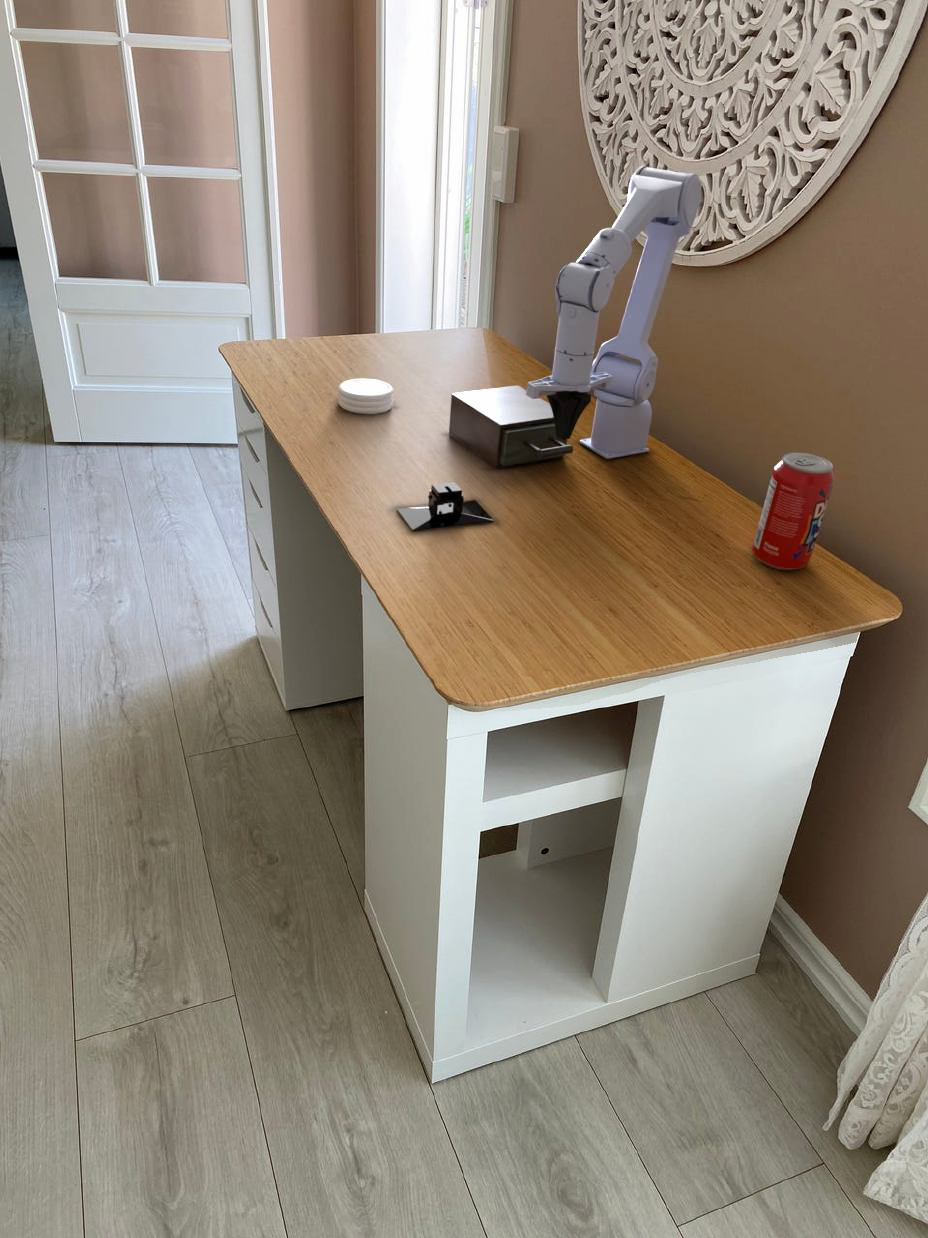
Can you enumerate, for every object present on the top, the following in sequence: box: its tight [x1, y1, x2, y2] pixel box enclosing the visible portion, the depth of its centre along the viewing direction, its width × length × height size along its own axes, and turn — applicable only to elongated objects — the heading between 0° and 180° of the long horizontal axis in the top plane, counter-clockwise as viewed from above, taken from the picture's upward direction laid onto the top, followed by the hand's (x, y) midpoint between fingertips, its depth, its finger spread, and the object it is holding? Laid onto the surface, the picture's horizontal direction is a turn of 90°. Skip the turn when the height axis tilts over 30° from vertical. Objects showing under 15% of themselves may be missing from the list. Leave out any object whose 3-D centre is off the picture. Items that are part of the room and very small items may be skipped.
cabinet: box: [448, 384, 564, 469], centre depth 159 cm, size 15×13×7 cm
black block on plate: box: [396, 481, 494, 533], centre depth 135 cm, size 12×7×5 cm, turn 112°
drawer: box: [500, 421, 574, 466], centre depth 155 cm, size 20×12×6 cm, turn 31°
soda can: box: [752, 451, 835, 571], centre depth 128 cm, size 8×8×15 cm
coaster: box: [337, 378, 394, 415], centre depth 171 cm, size 10×10×4 cm
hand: (562, 437), depth 146 cm, fingers closed
